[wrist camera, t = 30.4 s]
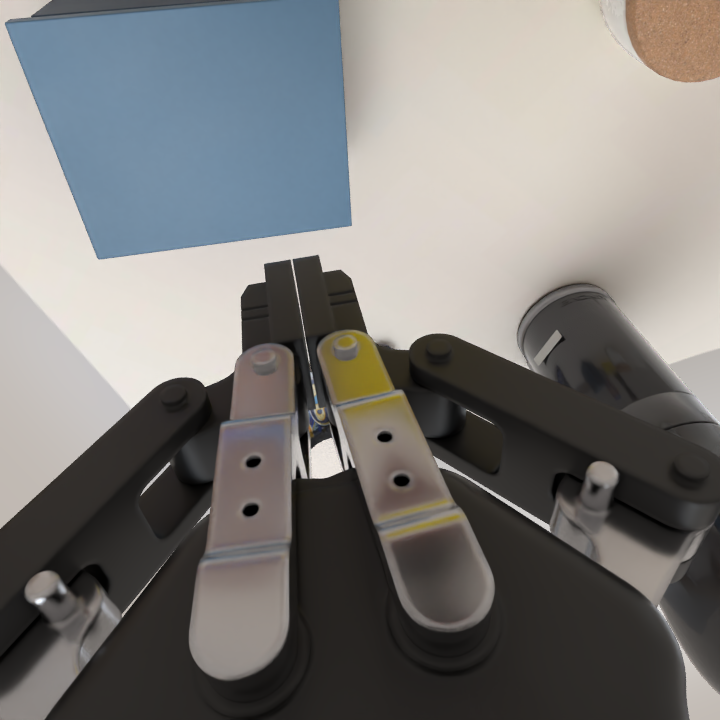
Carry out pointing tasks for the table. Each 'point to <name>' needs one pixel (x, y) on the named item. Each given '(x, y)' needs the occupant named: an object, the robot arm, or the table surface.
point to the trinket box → (668, 35)
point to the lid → (194, 119)
